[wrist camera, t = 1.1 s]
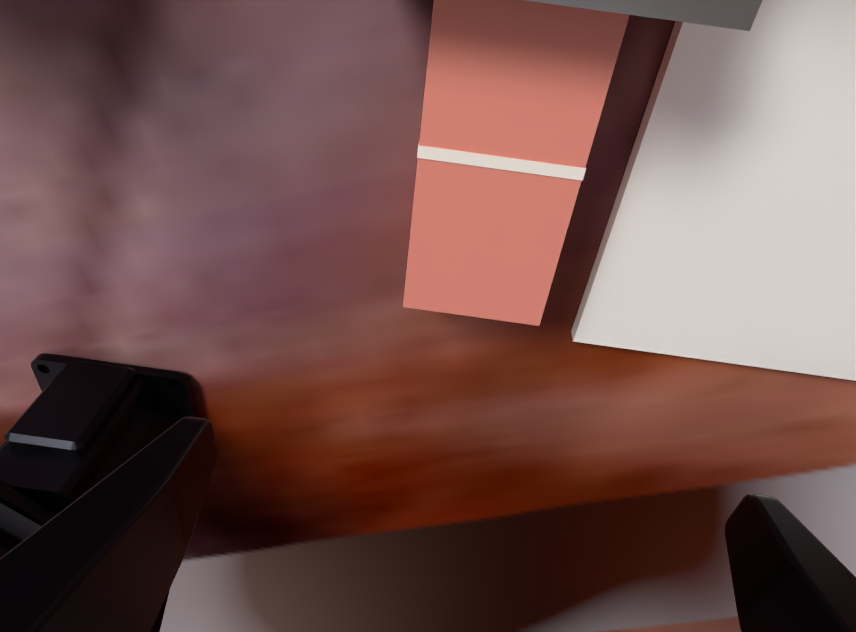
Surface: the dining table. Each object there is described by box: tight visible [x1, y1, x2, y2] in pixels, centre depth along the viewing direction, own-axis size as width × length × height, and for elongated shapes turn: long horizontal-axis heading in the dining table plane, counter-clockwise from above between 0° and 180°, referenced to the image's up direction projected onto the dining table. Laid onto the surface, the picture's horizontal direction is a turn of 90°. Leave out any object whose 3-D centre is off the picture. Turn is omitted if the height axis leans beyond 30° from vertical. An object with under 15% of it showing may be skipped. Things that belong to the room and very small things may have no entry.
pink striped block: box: [403, 0, 630, 326], centre depth 14 cm, size 14×4×4 cm, turn 174°
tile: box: [571, 0, 856, 381], centre depth 17 cm, size 12×12×1 cm
